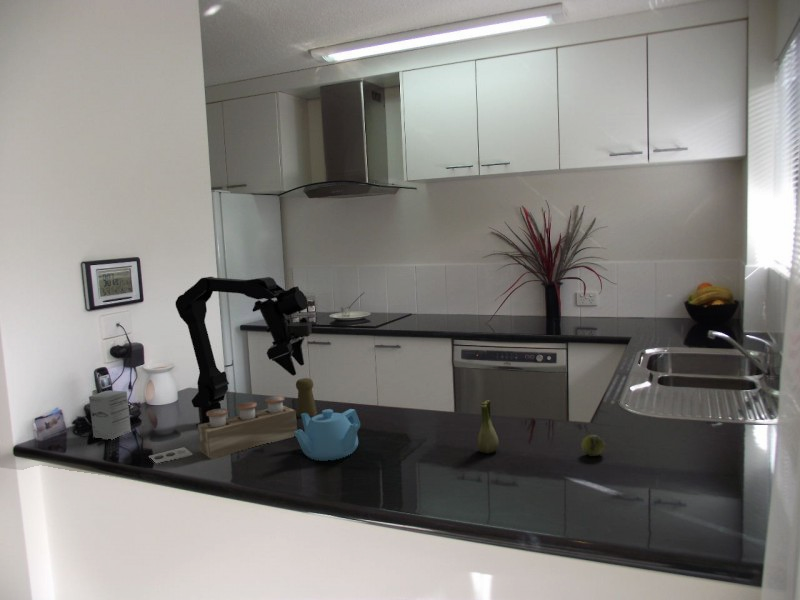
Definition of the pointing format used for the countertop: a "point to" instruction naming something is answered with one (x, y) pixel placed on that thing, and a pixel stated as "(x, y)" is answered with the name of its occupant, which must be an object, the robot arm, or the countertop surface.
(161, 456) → the pattern card
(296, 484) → the countertop surface
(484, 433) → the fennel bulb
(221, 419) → the button
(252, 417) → the middle button
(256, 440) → the button box
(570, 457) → the countertop surface
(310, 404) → the cork
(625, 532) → the countertop surface
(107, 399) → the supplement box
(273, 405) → the button
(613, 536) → the countertop surface
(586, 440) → the lime
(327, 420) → the teapot
